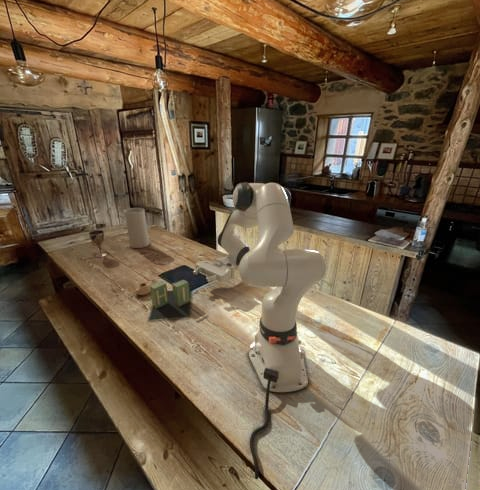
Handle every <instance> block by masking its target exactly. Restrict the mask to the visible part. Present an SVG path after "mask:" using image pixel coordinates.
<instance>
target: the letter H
mask: <svg viewBox="0 0 480 490" xmlns="http://www.w3.org/2000/svg"><path fill="white" fill-rule="evenodd" d="M150 291H151V292H150V297H151V303H152V307H153V306H154V307H156V308H159V307H161V306H163V305H165V304H167V303H169V302H168V294H167V291H168V287H167V283H166V282H165V281H163V280H160V281H157V283H156V284H153V285H151V286H150Z"/></svg>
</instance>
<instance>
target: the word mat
mask: <svg viewBox="0 0 480 490" xmlns="http://www.w3.org/2000/svg"><path fill="white" fill-rule="evenodd" d="M167 294H168V302H169V303H167V304H165V305H163V306H161V307H159V308H156V307H154V306H153V305H152V310H151V313H150V316H149V321H155V320H169V319H182V318H183V319H184V318H190V310H191V309H190V308H191V307H190V306H191V300H190V301H189V302H187V303H185V304H183V305H181V306H177V305H176V304H174V295H173V290H167ZM191 294H192V289H189V297H190V298H192V297H191Z"/></svg>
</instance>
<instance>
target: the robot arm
mask: <svg viewBox="0 0 480 490" xmlns="http://www.w3.org/2000/svg"><path fill="white" fill-rule="evenodd" d="M232 202H233V207H234V209H232V210H231V212H230V213H229V214H228V216H227V219H226V221H225V223H224V226H223V228H222V230H221V231H220V233H219V234H218V236H217V245H218V246H219V247H221V248H222V249H223V250H224V251H225V252H226V253H227V255H226V256H222V257H219V258H217V259H215V260H214V261H210V260H202V261H199V262H196V263H195V269H194V270H193V271H192V275H195V276H196V275H199V273H201V274H203V275H205V276H206V277H205V281H206V282H208V283H209V282H212V281H213V282H214V281H217V282H219V283H226V282H229V281H230V280H231V279H234V278H235V271H237V270H238V275H239V277H240V279H241V280H242V282H243V283H244V285H246V286H249V287H255V288H263V289H264V288H274V289H272V290H270V291H268V292H267V293H266V294H265V296H264V297H263V298H262V301H261V316H260V319H259V325H258V326H259V330H258V331H257V332H256V334H254V341H253V343H252V344H250V348H253V349H252V350H250V351H249V352H248V357H249V359H250V362H251V364H252V366H253V368H254V371H255V372H256V374H257V376H258V379H259V381H260V382H261V385H262V387H263V389H264V390H266V391H265V401H264V414H265V415H264V416H265V420H264V424H263V425H261V426H260V427H258V428H255V430H253V431H252V433H251V434H250V437H249V450H250V453H251V456H252V460H253V466H254V479H255V480H258V479H259V478H260V476H259V475H260V473H259V471H260V470H259V462H258V457H257V454H256V450H255V446H254V440H255V437H256V435H257V434H259V433H261V432H263V431H264V430H265V429H266V428H267V427H268V426H269V423H270V415H269V400H270V392H271V393H272V392H274V393H290V392H296V391H299V390H302V389H304V388H306V387H307V386H308V385H309V380H308V374H307V369H306V364H305V360H306V353H305V351H303V349H302V348H301V347H300V346H301V345H302V340H299V336H298V334H299V333H298V327H297V313H298V309H299V305H300V302H301V301H302V299H303V297H304V296H305V295H306V293H307V292H308V291H309V290H311V288H312V287H313V286H316V285H317V284H318V283H320V282H321V281H322V280H323V278H324V277H325V275H326V269H327V266H326V265H327V263H326V261H325V259H324V257H323V255H322V254H321V253H320V252H319V251H316V250H311V249H305V248H295V249H294V248H293V249H280V248H279V246H280V245H282V244H284V243H286V242H287V241H289V240H290V239H291V238H292V236H293V234H294V232H295V231H294V230H295V227H294V221H293V217H292V211H291V207H290V206H291V203H292V194H291V192H290V190H289V189H288V188H286V187H284V186H282V185H281V184H279V183H276V182H267V183H263V182H248V181H245V182H239V183H238V184H236V185H235V186H234V190H233V192H232ZM237 226H239V227H241V228H243V229H251V228H255V227H256V226H257V227H258V228H257V232H258V233H257V238H256V242H255V243H254V245H253V246H252V248H251V249H250V246H249V245H248V244H247V243H246V242H245V241H244V240H242V239H241V238H240V237H239V236H238V235H237V234H236V232H235V229H236V227H237Z"/></svg>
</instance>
